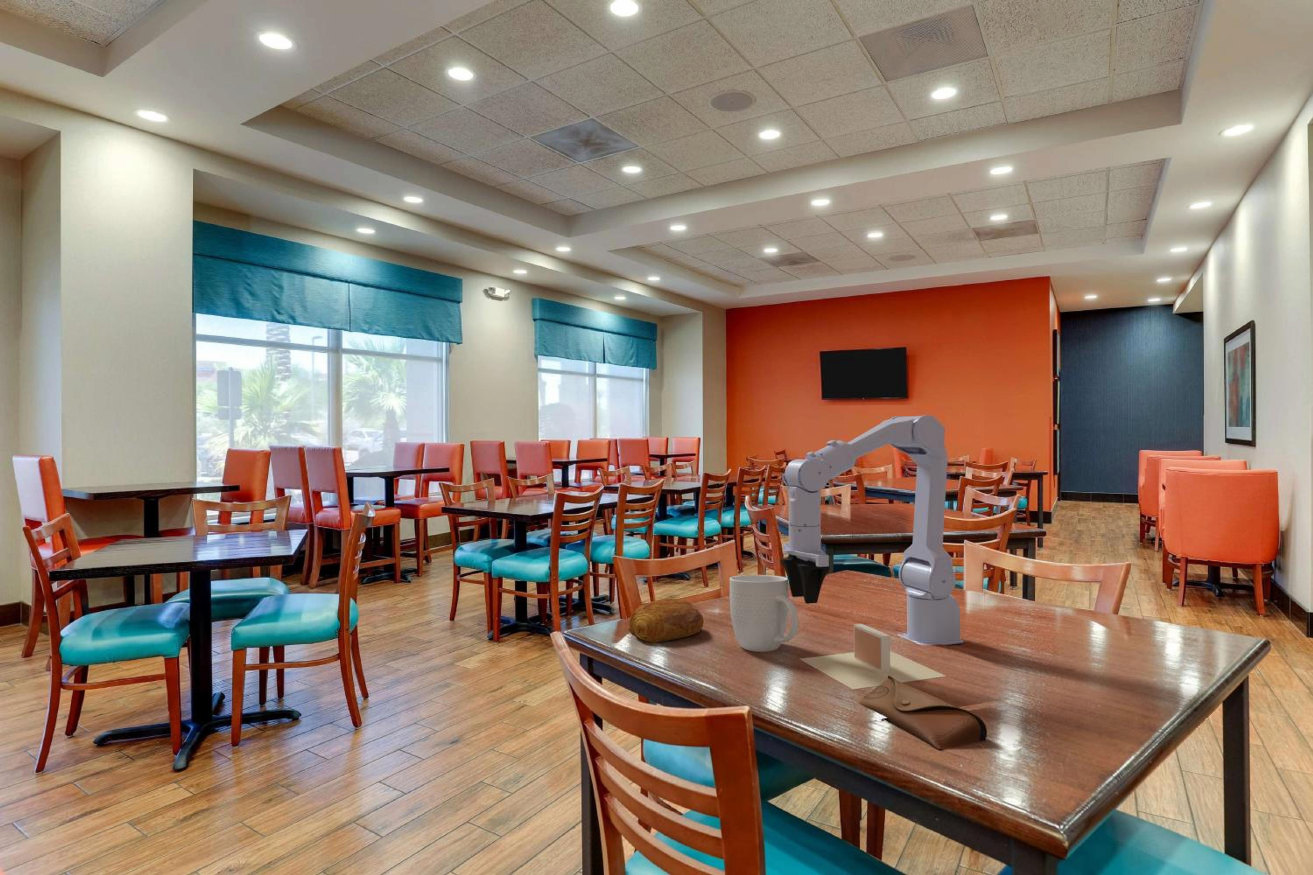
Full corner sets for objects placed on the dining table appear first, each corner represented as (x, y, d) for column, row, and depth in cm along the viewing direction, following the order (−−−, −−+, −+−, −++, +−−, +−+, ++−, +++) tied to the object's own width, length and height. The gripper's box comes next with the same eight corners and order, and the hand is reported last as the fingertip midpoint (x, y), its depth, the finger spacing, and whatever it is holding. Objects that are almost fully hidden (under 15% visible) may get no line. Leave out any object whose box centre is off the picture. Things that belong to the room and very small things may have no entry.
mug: (818, 653, 129) (816, 580, 130) (775, 662, 122) (774, 585, 123) (759, 639, 141) (758, 573, 142) (718, 647, 134) (717, 577, 135)
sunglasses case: (846, 703, 106) (864, 661, 108) (877, 720, 109) (894, 679, 110) (941, 752, 90) (961, 702, 91) (975, 770, 92) (994, 722, 94)
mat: (884, 651, 132) (884, 648, 132) (946, 679, 117) (946, 675, 117) (799, 662, 126) (799, 658, 126) (852, 692, 111) (852, 689, 111)
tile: (861, 657, 126) (861, 623, 126) (890, 671, 119) (890, 635, 119) (853, 658, 126) (853, 624, 126) (881, 672, 118) (881, 636, 118)
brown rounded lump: (714, 646, 143) (719, 606, 144) (650, 648, 135) (656, 606, 135) (673, 628, 155) (677, 591, 156) (612, 629, 147) (617, 590, 147)
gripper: (768, 520, 135) (767, 592, 135) (802, 530, 121) (802, 610, 121) (802, 520, 137) (801, 590, 137) (839, 529, 123) (839, 607, 123)
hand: (804, 599), depth 129 cm, fingers open, 5 cm apart
